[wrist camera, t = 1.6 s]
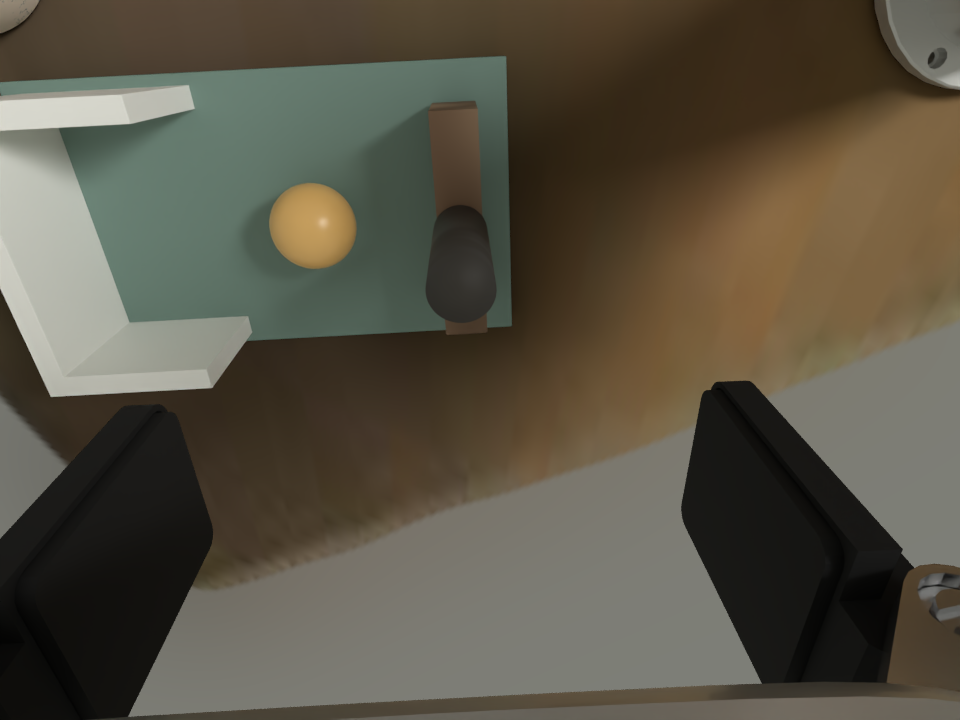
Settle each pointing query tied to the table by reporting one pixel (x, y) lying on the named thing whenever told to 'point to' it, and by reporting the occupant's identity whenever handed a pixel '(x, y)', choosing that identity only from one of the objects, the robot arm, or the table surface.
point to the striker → (458, 222)
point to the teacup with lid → (15, 12)
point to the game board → (226, 212)
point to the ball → (312, 225)
